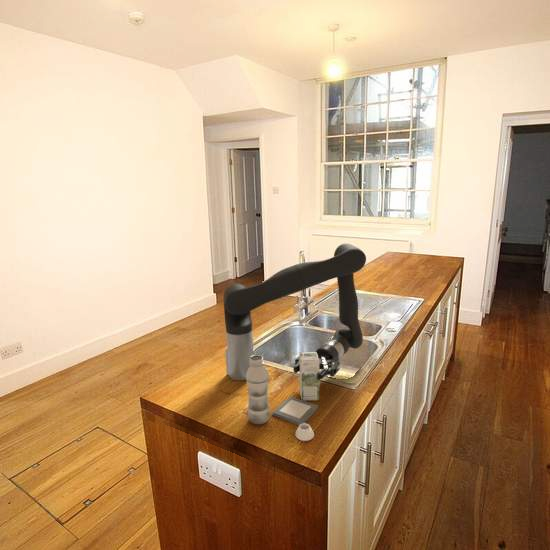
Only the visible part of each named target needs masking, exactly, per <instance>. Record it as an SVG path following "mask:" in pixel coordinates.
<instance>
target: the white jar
mask: <svg viewBox="0 0 550 550" xmlns="http://www.w3.org/2000/svg"><path fill="white" fill-rule="evenodd" d="M294 434H295V437H296V438H297V439H298V440H300V441H304V442H305V441H306V442H307V441H311V440H312V439H313V438H314V436H315V433H314V431H313V429H312V427H311V425H310V424H309V423H306V422H305V423H303V424H300V425H298V427H297V428H296V430H295V433H294Z"/></svg>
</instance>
